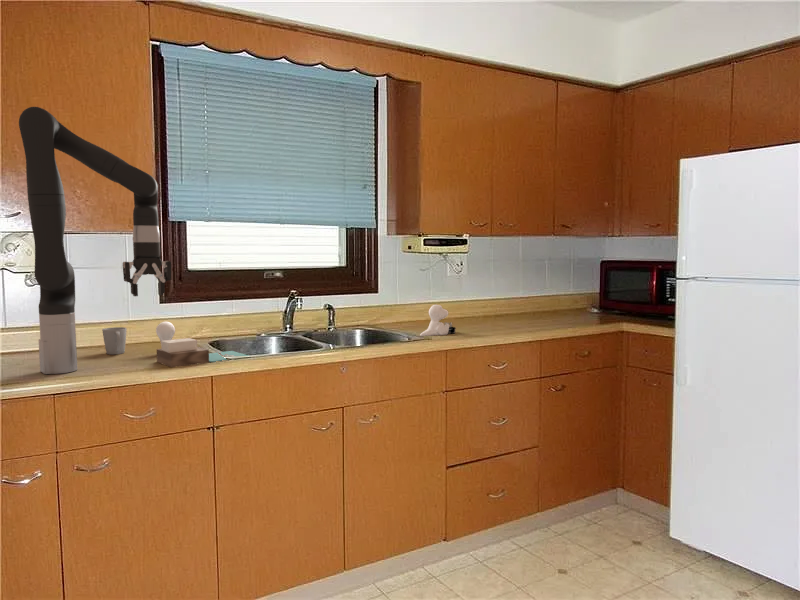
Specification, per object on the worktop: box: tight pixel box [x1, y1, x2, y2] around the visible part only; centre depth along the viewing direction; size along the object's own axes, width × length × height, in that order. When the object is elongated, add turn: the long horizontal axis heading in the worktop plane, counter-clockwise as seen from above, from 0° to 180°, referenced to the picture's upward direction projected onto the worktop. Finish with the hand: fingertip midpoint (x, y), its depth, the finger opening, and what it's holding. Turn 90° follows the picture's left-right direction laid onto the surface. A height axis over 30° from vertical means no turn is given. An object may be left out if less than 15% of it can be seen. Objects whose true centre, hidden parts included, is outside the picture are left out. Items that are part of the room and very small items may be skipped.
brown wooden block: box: [156, 346, 210, 368], centre depth 200 cm, size 12×12×4 cm
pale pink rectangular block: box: [160, 337, 198, 353], centre depth 199 cm, size 9×6×3 cm, turn 131°
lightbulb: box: [155, 321, 176, 342], centre depth 215 cm, size 6×6×11 cm
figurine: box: [419, 304, 457, 337], centre depth 260 cm, size 8×18×12 cm, turn 125°
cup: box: [102, 326, 127, 356], centre depth 215 cm, size 8×10×8 cm
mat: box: [208, 350, 250, 363], centre depth 209 cm, size 14×14×1 cm
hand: (148, 295), depth 192 cm, fingers open, 7 cm apart
